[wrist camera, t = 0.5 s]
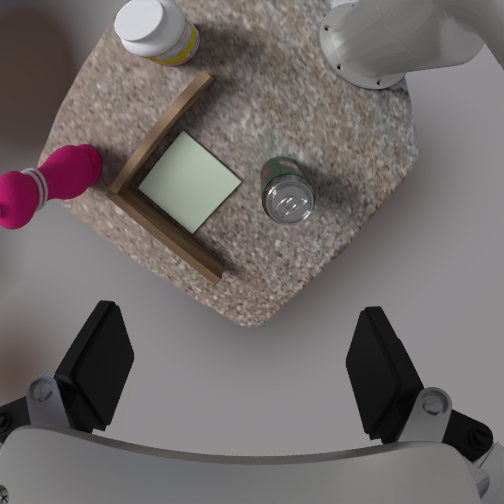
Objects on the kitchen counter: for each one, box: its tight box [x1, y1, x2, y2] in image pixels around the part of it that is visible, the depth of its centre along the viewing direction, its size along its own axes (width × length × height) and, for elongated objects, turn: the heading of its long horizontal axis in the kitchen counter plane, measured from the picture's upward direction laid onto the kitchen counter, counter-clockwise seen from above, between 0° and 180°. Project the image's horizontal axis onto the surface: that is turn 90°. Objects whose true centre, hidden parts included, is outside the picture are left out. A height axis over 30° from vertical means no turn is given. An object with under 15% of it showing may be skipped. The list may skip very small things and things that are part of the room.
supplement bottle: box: [115, 0, 200, 66], centre depth 23 cm, size 7×7×13 cm
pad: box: [138, 131, 241, 234], centre depth 37 cm, size 10×10×1 cm
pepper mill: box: [0, 144, 102, 229], centre depth 27 cm, size 7×7×20 cm
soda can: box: [260, 157, 316, 225], centre depth 31 cm, size 5×5×12 cm
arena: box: [106, 71, 224, 285], centre depth 35 cm, size 20×19×4 cm
